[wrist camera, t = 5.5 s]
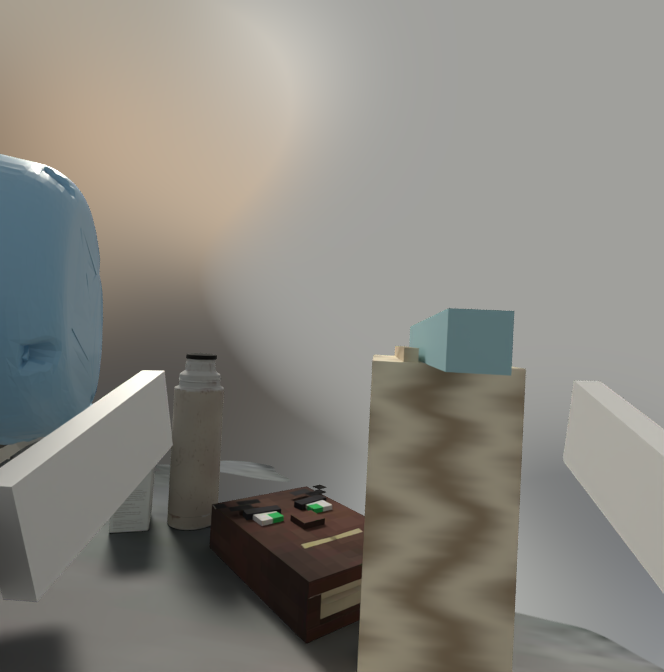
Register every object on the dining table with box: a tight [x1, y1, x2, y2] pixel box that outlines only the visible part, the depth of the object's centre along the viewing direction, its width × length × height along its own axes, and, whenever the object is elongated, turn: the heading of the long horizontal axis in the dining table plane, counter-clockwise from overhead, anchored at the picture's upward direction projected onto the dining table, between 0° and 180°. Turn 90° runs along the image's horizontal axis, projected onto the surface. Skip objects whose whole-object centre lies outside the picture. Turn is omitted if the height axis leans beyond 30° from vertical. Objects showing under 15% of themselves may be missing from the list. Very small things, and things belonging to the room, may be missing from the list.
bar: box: [409, 308, 514, 376], centre depth 33 cm, size 3×24×3 cm, turn 174°
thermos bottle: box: [167, 353, 224, 530], centre depth 76 cm, size 8×8×28 cm
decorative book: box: [210, 485, 365, 643], centre depth 62 cm, size 19×8×30 cm
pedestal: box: [357, 346, 526, 672], centre depth 38 cm, size 10×16×31 cm, turn 174°
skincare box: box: [109, 466, 155, 533], centre depth 74 cm, size 8×6×15 cm
